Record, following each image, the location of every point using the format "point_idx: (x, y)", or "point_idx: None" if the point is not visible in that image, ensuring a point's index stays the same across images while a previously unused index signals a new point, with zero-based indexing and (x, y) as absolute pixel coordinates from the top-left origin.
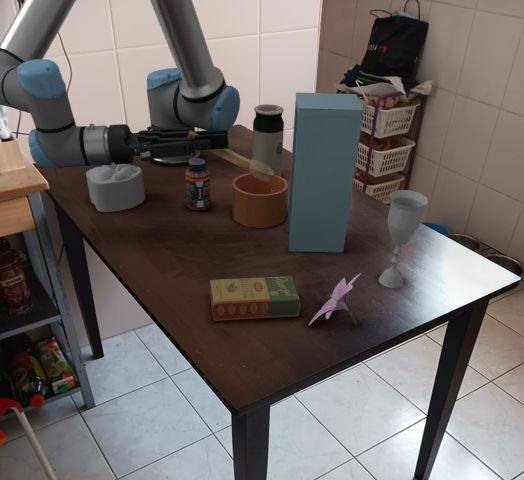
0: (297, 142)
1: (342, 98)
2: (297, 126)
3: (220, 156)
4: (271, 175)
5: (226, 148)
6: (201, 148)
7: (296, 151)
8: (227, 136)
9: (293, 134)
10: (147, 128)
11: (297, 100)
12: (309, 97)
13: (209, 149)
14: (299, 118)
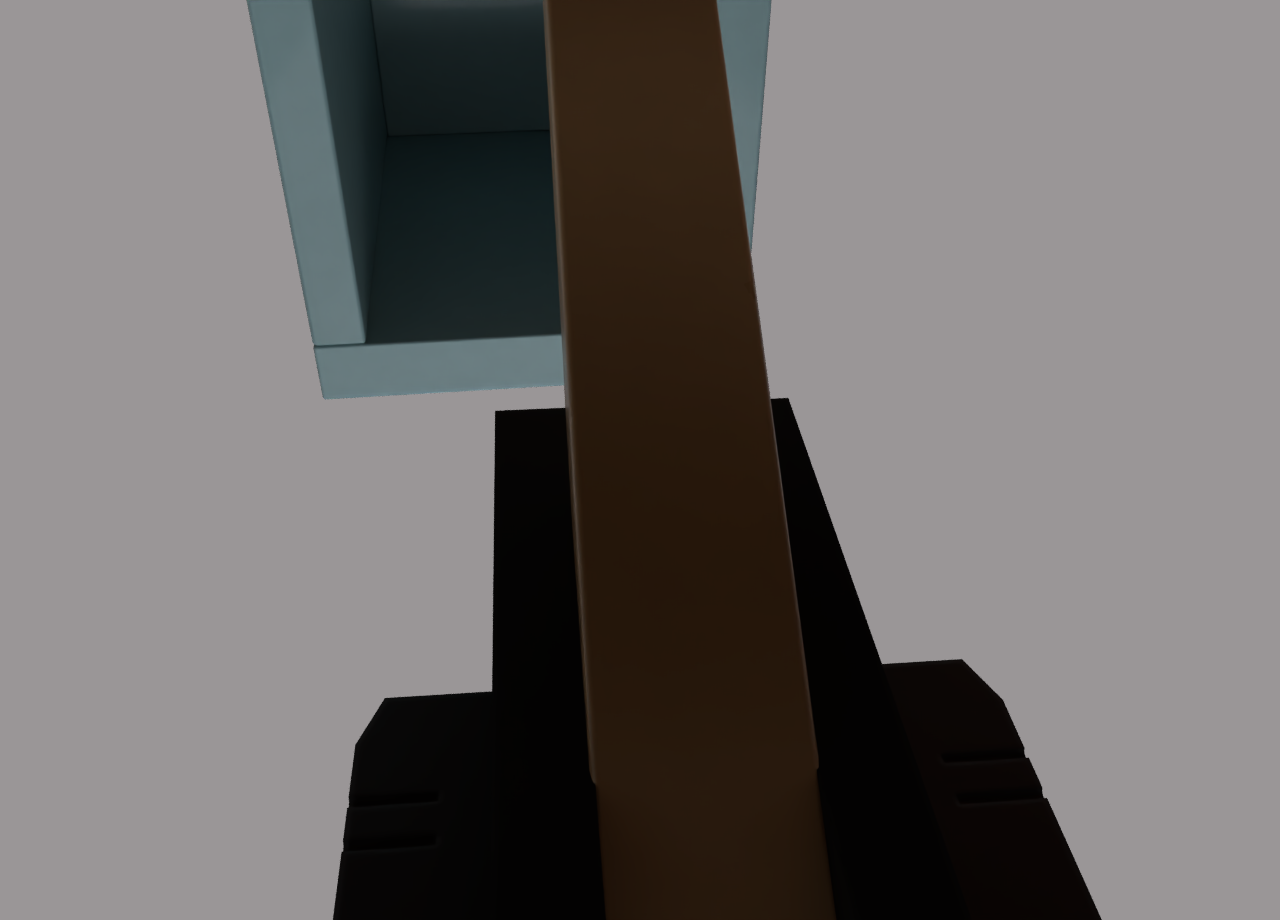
0: (276, 146)
1: None
2: (301, 277)
3: (565, 344)
4: None
5: (498, 431)
6: (342, 891)
7: (259, 64)
8: None
9: (736, 54)
10: None
11: (523, 387)
12: None
13: (493, 670)
14: (310, 327)
